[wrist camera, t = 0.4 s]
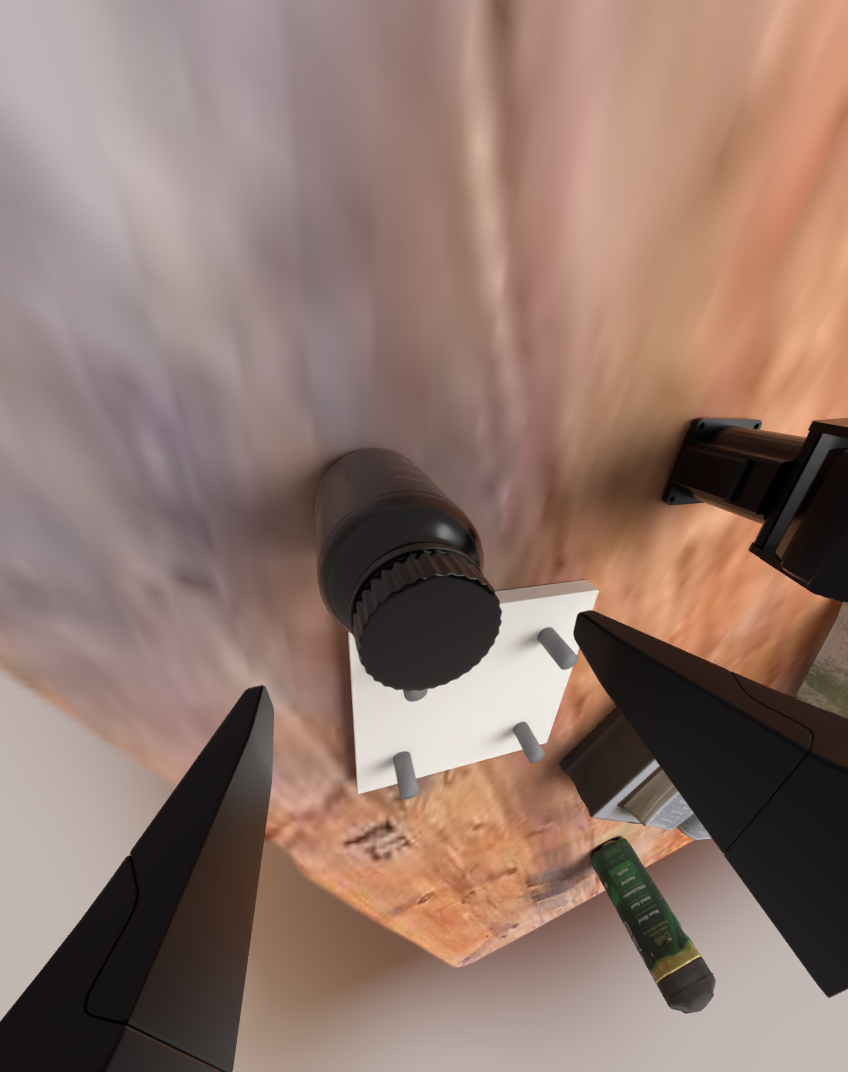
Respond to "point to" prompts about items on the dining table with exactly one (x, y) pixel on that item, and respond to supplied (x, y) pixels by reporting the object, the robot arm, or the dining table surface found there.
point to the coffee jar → (654, 928)
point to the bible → (627, 780)
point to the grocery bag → (830, 671)
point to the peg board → (473, 696)
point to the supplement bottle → (402, 571)
